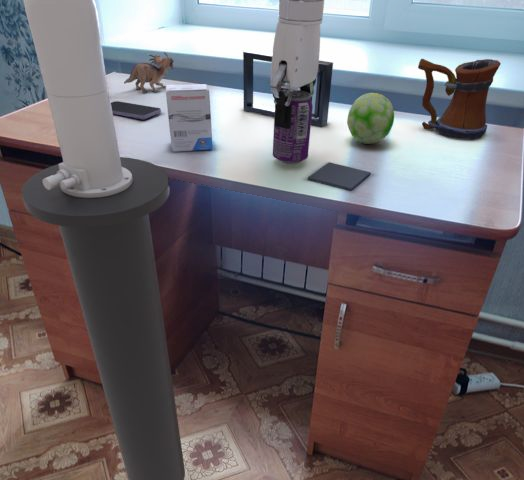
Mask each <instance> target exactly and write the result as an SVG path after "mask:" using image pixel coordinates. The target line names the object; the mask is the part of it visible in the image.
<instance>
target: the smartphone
mask: <svg viewBox="0 0 524 480" xmlns="http://www.w3.org/2000/svg"><path fill="white" fill-rule="evenodd" d="M111 107H112V113H113V115H119V116H124V117H129V118H134V119H137V120H138V119H139V120H142V121H143V120H147V119H148V118H151V117H153V116H155V115H158V114H161V113H162V109H161V108H160V107H155V106H149V105H144V104H138V103H131V102H125V101H119V100H118V101H117V100H116V101H112V102H111Z"/></svg>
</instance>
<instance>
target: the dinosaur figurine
mask: <svg viewBox="0 0 524 480" xmlns="http://www.w3.org/2000/svg"><path fill="white" fill-rule="evenodd" d="M163 54H164V55H165V57H166V58H163V57H162V56H161V55H160V54H159V55H158V54H148V56H149V57H151V58H149V59H148V62H140V63H137V64H135V65H134V66H133V68H132V69H131V72H130V75H129V77H128V78H126V80H125V81H124V82H123V84H125V85H126V84H127V83H128V84H129V83H132V82H134V81H136V82H135V88H136V89H138V90H141V92H142V93H143V94H147V93H148V92H149V91H148V90H147V89H146V88H145V84H146V83H148V85H149V86H150V88H151V89H152V92H153V93H158V90H157V89H156V88H155V86H158V87H162V88H163V89H166V85H164V83H162V82H161V81H162V80H163V79H164V78H165V77H166V76H167V74H168V71H169V70H174V68H175V67H174V64H173V63H175V61H174V59H173V58H172V57H171V56H170V55H169V54H168V53H167V52H163ZM149 61H151V62H149ZM155 65H156V66H155ZM139 84H140V85H139Z"/></svg>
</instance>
